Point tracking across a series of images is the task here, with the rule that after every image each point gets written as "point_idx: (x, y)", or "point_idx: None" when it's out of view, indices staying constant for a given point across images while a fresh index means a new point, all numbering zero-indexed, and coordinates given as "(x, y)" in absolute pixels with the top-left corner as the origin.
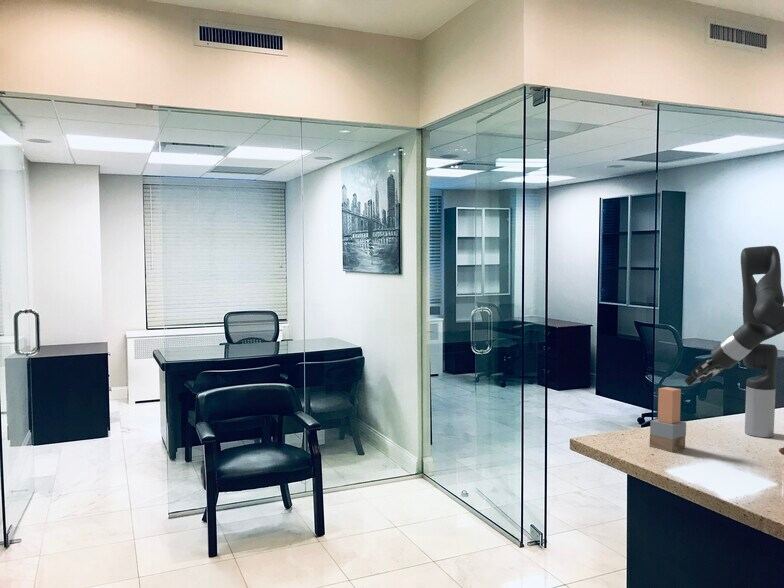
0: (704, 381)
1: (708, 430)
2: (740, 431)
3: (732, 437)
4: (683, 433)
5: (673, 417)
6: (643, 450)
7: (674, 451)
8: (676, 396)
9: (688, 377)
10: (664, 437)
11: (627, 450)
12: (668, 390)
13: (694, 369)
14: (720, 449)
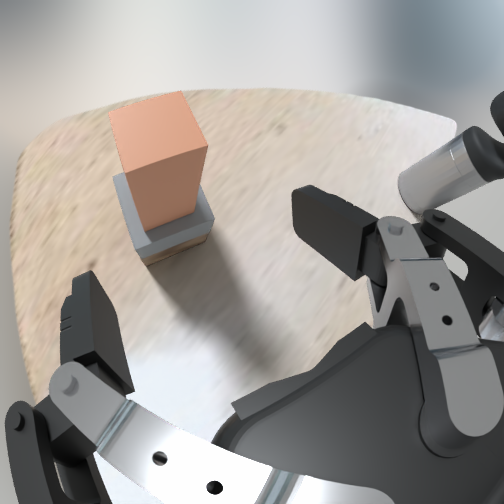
0: (306, 240)
1: (349, 140)
2: (396, 167)
3: (367, 191)
4: (197, 234)
5: (152, 220)
6: (92, 231)
7: (156, 261)
8: (166, 176)
9: (74, 311)
10: None
11: (59, 224)
12: (119, 154)
13: (17, 475)
14: (292, 262)
